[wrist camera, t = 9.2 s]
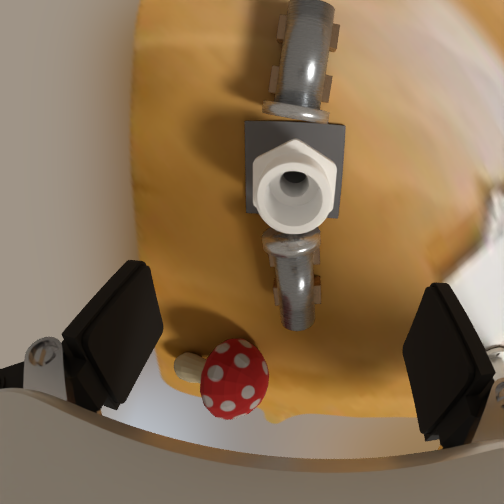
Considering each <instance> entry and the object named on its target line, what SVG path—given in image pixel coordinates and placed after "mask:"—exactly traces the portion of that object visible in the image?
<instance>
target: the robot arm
mask: <svg viewBox="0 0 504 504" xmlns="http://www.w3.org/2000/svg"><path fill="white" fill-rule="evenodd" d="M162 332H163V322H162V318H161V314H160V310H159V306H158V302H157V297H156V293H155V289H154V284H153V280H152V275H151V270H150V268H149V266H146V264H145V262H143V261H135V260H128V261H127V262H126V263H125V264H124V265H123V266H122V267H121V268H120V269H119V270H118V271H117V272H116V273H115V274H114V275H113V276H112V277H111V278H110V279H109V280H108V282H107V283H106V284H105V285H104V286H103V287H102V288H101V289H100V290H99V291H98V292H97V294H96V295H95V296H94V297H93V298H92V299H91V300H90V301H89V302H88V304H87V305H86V306H85V307H84V308H83V309H82V310H81V312H80V313H79V314H78V315H77V316H76V317H75V319H74V320H73V321H72V322H71V323H70V325H69V326H68V327H67V328H66V329H65V330H64V332H63V333H62V336H63V338H64V340H63V341H62V343H61V342H60V341H59V340H58V339H56V338H54V337H44V338H41V339H39V340H37V341H35V342H34V343H33V344H32V345H31V346H30V347H29V348H28V350H27V351H26V354H25V360H24V362H21V363H18V364H15V365H12V366H9V367H6V368H3V369H0V504H504V348H501V347H500V348H494V349H490V350H488V351H486V350H485V348H484V346H483V344H482V342H481V340H480V338H479V336H478V334H477V332H476V331H475V329H474V327H473V325H472V323H471V321H470V319H469V318H468V316H467V314H466V312H465V311H464V309H463V307H462V305H461V304H460V302H459V300H458V299H457V297H456V295H455V294H454V292H453V290H452V289H451V287H450V285H449V284H447V283H432V284H431V285H430V287H427V288H426V289H425V292H424V295H423V297H422V300H421V303H420V306H419V308H418V311H417V313H416V316H415V318H414V321H413V323H412V326H411V328H410V331H409V333H408V335H407V338H406V340H405V342H404V345H403V357H404V361H405V365H406V369H407V373H408V377H409V381H410V385H411V389H412V394H413V398H414V403H415V408H416V413H417V418H418V423H419V428H420V432H421V433H422V434H424V436H425V441H431V440H437V439H440V447H439V448H438V450H435V451H429V452H422V453H414V454H407V455H399V456H389V457H378V458H363V459H303V458H288V457H287V458H286V457H275V456H266V455H257V454H249V453H242V452H236V451H229V450H224V449H218V448H212V447H208V446H203V445H198V444H194V443H189V442H185V441H181V440H177V439H173V438H169V437H165V436H162V435H159V434H155V433H152V432H149V431H145V430H142V429H139V428H136V427H133V426H130V425H127V424H124V423H121V422H119V421H116V420H113V419H110V418H108V417H105V416H102V413H101V408H102V406H103V405H104V406H106V407H109V408H112V409H114V410H117V409H118V407H119V405H120V404H122V403H124V402H125V401H126V399H127V397H128V396H129V393H130V392H131V390H132V388H133V386H134V384H135V382H136V380H137V379H138V377H139V375H140V373H141V371H142V369H143V367H144V366H145V364H146V362H147V360H148V358H149V356H150V354H151V353H152V351H153V349H154V347H155V345H156V344H157V342H158V340H159V338H160V336H161V335H162Z"/></svg>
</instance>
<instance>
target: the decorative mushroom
mask: <svg viewBox="0 0 504 504" xmlns="http://www.w3.org/2000/svg"><path fill="white" fill-rule="evenodd" d="M174 370H175V372H176V374H177V376H178V377H179V378H180V379H182V380H185V381H187V382H193V383H201V384H200V393H201V396H202V399H203V403H204V406H205V407H206V408H207V409H208V410H209V411H210V412H211V413H212V414H213V415H214V416H215V417H218V418H222V419H227V420H228V419H235V418H238V417H240V416H243V415H246V414H249V413H250V412H251V411H252V410H253V409H255V408H256V407H257V406H258V405H259V404H260V403H261V401H262V399H263V398H264V396H265V394H266V391H267V387H268V381H269V372H268V367H267V364H266V361H265V359H264V357H263V356H262V354H261V352H260V351H259V350H258V349H257V348H256V347H255V346H254V345H252V344H251V343H249V342H248V341H246V340H244V339H228V340H226V341H224V342H223V343H221V344H219V345H218V346H216V348H215V349H214V350H213V352H212V353H211V354H210V355H209V357H208V358H207V359H204V358H202V357H200V356H198V355H196V354H194V353H190V352H188V353H183V354H182V355H180V356H178V357H177V358H176V360H175V362H174Z"/></svg>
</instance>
